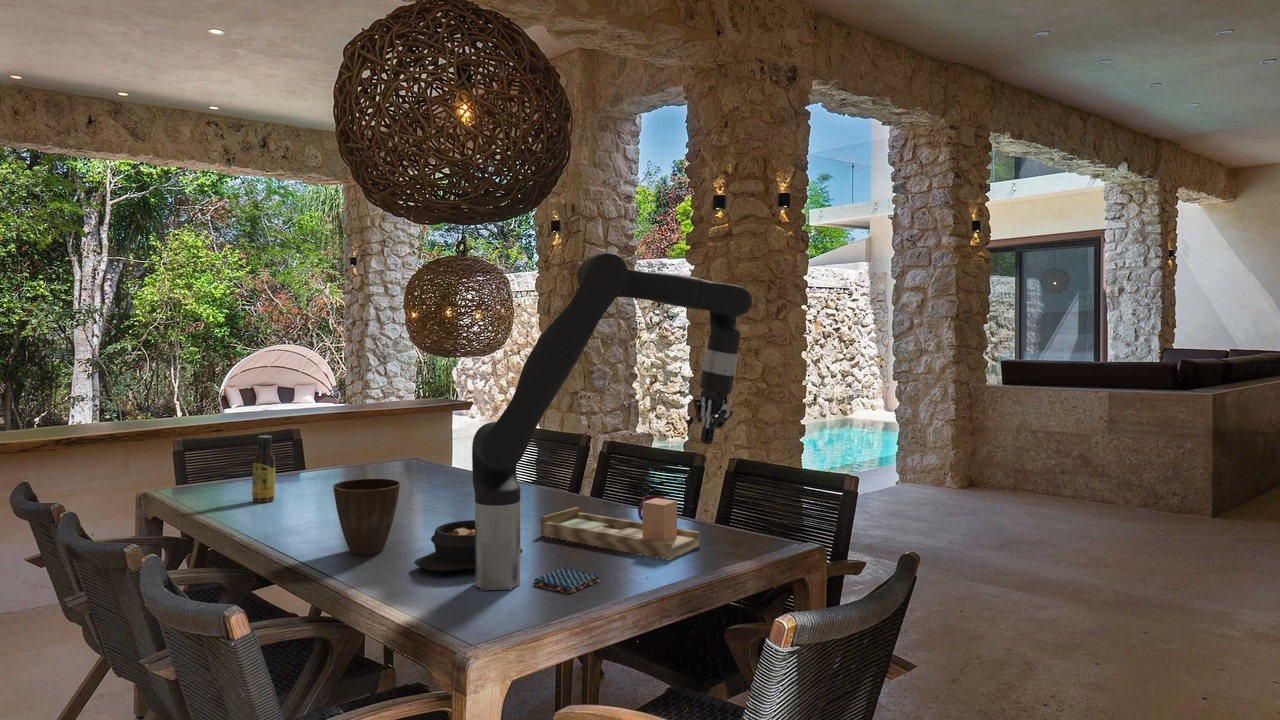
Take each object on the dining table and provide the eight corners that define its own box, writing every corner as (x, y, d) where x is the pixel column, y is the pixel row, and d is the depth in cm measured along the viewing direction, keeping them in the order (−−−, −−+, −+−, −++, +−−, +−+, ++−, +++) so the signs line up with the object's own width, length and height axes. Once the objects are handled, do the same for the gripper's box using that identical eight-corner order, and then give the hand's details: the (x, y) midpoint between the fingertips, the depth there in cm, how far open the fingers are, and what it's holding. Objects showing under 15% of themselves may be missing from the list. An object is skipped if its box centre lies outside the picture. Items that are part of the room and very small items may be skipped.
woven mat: (529, 588, 168) (529, 578, 168) (562, 575, 177) (562, 566, 177) (569, 597, 163) (569, 587, 163) (601, 584, 172) (601, 574, 171)
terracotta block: (676, 537, 198) (677, 500, 198) (663, 543, 193) (664, 505, 193) (655, 534, 201) (656, 497, 201) (642, 539, 196) (642, 502, 196)
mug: (671, 523, 224) (672, 498, 224) (645, 528, 217) (645, 503, 217) (654, 518, 229) (654, 494, 229) (628, 524, 222) (628, 499, 222)
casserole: (444, 586, 168) (444, 545, 168) (397, 567, 181) (397, 529, 181) (540, 561, 186) (540, 525, 186) (491, 546, 199) (491, 512, 199)
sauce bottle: (247, 502, 246) (246, 436, 246) (262, 498, 252) (262, 434, 252) (265, 504, 244) (264, 437, 244) (280, 500, 250) (279, 435, 250)
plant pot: (377, 539, 204) (377, 476, 204) (413, 550, 195) (412, 483, 194) (321, 552, 193) (320, 484, 192) (356, 564, 183) (356, 492, 183)
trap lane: (699, 546, 200) (699, 526, 199) (668, 560, 188) (668, 538, 187) (575, 525, 221) (575, 506, 220) (540, 536, 209) (540, 516, 208)
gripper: (689, 364, 193) (677, 435, 195) (722, 375, 182) (709, 450, 184) (714, 366, 197) (702, 436, 199) (749, 377, 186) (735, 451, 188)
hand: (706, 443), depth 191 cm, fingers closed
